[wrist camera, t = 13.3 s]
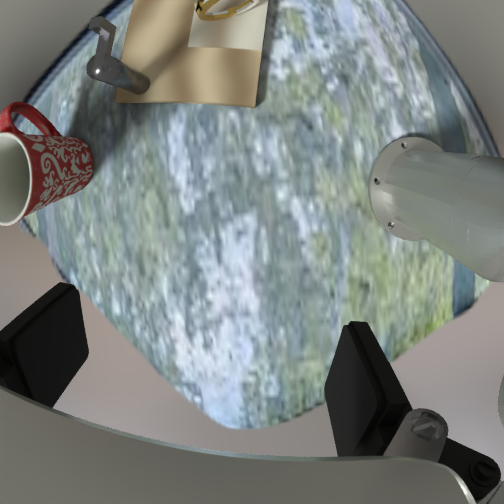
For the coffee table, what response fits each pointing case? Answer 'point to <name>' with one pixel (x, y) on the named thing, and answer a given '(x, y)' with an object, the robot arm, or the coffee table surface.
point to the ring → (230, 12)
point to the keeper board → (194, 53)
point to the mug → (38, 165)
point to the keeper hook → (113, 62)
